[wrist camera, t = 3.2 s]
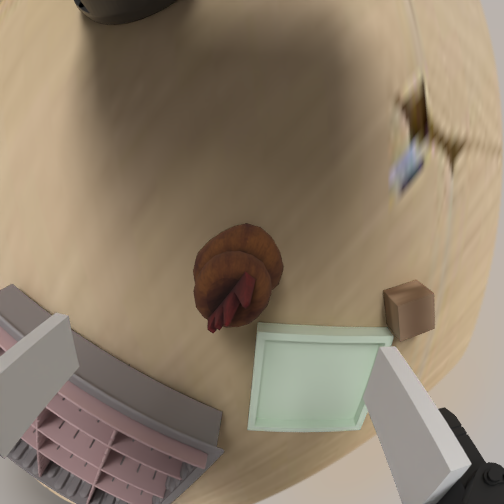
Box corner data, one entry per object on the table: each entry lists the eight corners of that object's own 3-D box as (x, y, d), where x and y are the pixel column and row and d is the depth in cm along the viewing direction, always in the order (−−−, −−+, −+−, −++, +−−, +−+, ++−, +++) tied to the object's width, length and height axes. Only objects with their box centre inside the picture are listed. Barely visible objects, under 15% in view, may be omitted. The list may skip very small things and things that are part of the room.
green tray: (248, 418, 33) (247, 429, 31) (257, 322, 30) (257, 331, 28) (356, 419, 33) (359, 429, 31) (387, 327, 30) (394, 336, 28)
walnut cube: (386, 323, 30) (400, 341, 26) (382, 290, 29) (397, 306, 25) (418, 312, 29) (434, 328, 25) (416, 279, 28) (433, 293, 24)
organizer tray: (13, 425, 39) (-9, 453, 30) (16, 272, 30) (-36, 299, 20) (145, 504, 42) (134, 539, 33) (232, 402, 33) (223, 466, 23)
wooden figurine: (258, 206, 27) (253, 244, 13) (289, 261, 28) (315, 348, 14) (195, 243, 28) (130, 313, 14) (227, 294, 29) (197, 398, 15)
